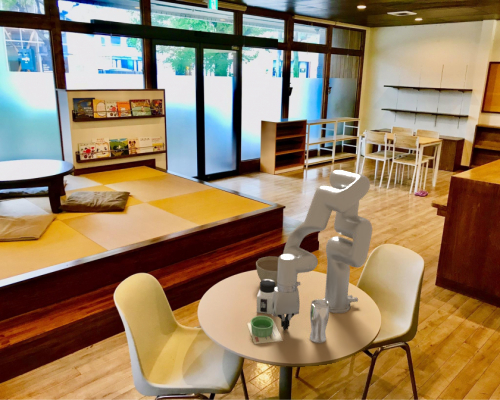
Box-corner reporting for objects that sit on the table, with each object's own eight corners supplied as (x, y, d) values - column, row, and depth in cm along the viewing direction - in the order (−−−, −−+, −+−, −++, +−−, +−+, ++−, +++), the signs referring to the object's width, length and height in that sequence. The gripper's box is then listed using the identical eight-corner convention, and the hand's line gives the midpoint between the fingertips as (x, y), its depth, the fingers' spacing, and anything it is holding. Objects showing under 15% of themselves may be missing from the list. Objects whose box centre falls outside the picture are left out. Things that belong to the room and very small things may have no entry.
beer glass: (314, 330, 165) (316, 296, 161) (330, 337, 161) (333, 303, 156) (305, 339, 160) (307, 304, 155) (321, 346, 155) (323, 310, 151)
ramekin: (262, 322, 170) (262, 312, 168) (278, 332, 163) (278, 322, 162) (245, 330, 164) (245, 321, 163) (261, 341, 158) (261, 331, 156)
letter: (273, 320, 172) (273, 320, 171) (283, 340, 158) (283, 340, 158) (247, 323, 169) (247, 322, 169) (254, 344, 156) (254, 343, 156)
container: (274, 314, 176) (275, 286, 172) (256, 312, 177) (256, 284, 173) (277, 305, 183) (278, 278, 179) (259, 303, 184) (260, 276, 181)
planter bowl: (272, 296, 190) (273, 274, 187) (248, 283, 202) (249, 262, 198) (296, 285, 201) (297, 264, 198) (272, 273, 212) (273, 253, 209)
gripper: (302, 279, 165) (300, 320, 170) (265, 282, 162) (264, 324, 167) (308, 288, 158) (306, 331, 163) (270, 292, 155) (269, 335, 160)
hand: (285, 327), depth 165 cm, fingers closed
